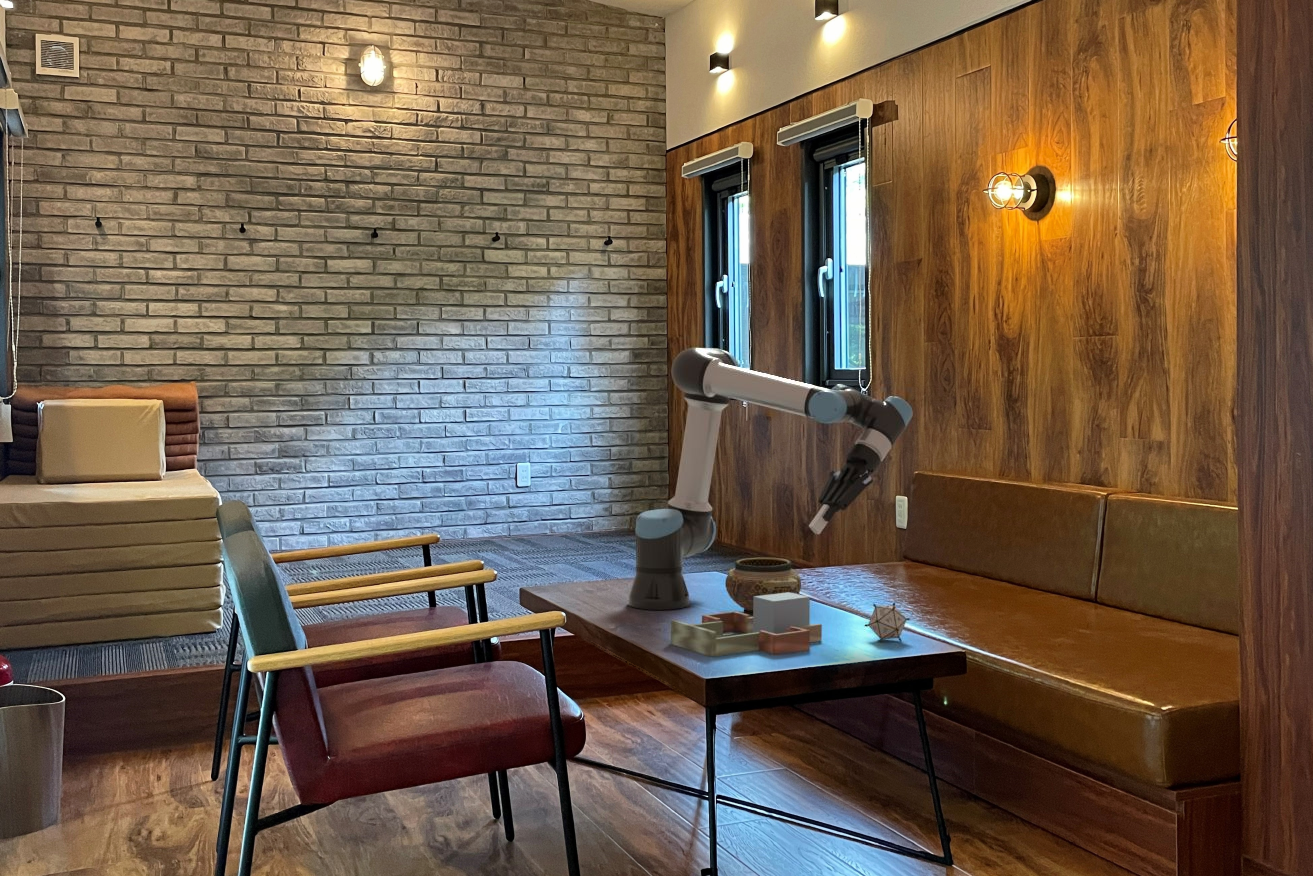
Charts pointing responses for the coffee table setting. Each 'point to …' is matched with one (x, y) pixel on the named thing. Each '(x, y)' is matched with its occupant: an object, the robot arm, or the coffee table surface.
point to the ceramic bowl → (760, 580)
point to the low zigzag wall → (740, 636)
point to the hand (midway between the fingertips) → (813, 530)
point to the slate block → (780, 612)
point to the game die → (887, 622)
